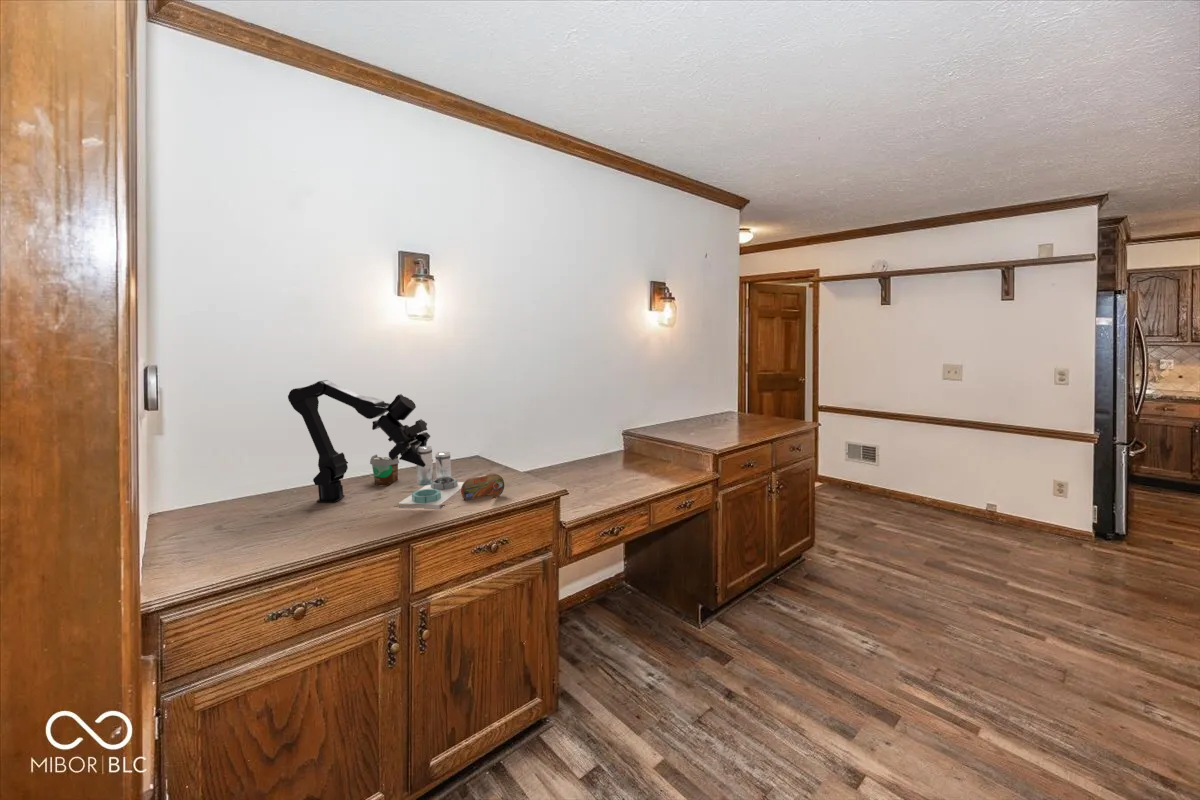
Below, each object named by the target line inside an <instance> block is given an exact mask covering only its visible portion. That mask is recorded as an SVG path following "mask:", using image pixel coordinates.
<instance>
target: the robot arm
mask: <svg viewBox="0 0 1200 800" xmlns="http://www.w3.org/2000/svg"><path fill="white" fill-rule="evenodd" d="M323 395H325V396H326V397H330V398H332V399H333V400H336V401H338V402H341V403H343V404H345V405H347V406H349V407H352V408H353V409H355V411H356V412H357V413H358V415H360V416H363V418H366V419H368V420H370V419H376V418H378V419H377V420H373V421H372V422H371V423H372V428H371V429H372V430H373V431H375V430H377V429H381V431H382V432H384V434H385V435H386V436H388V439H387V440H388V442H393V443H394V444H395V445H394V446H393V447H391V448H392V449H390V451H389V452H388V458H390V459H392V460H393V461H394V460H396V459H397V458H398V459H399V461H405V462H408V463H411V464H413V465H416V466H417V465H419V466H421V467H424V466H425V465H426V464H425V463H424V461H423V460H422V459H421V458H420V456H419V455H418V454H417V453H416V447H420V446H428V445H427V443H428V440H429V439H430V438H431V435H430V434H429V433H428V432H426V431H427V430H428V428H427V425H428V422H426V421H425V420H423V419H422V418H420V419H418V420H416V421H415V423H414V424H413V425H411V426H409V425H408V424H404V425H403V424H402V423H401V421H405V420H406V419H407V418H408V416H410V415H411V413H413V411H414V410H415V409H416V408H417V406H416V404H415V401H413V400H412V399H410V398H409V397H406V396H403V394H402V393H400V394H397V395H396V396H395V398H394V399H393V401H392V402H391V403H389V402H385V401H384V400H383V399H380V398H376V397H372V396H365V395H361V394H359V393H357V392H354V391H352V390H349V389H347V388H346V387H343V386H341V385H338V384H336V383H334V382H333V381H331V380H328V379H325V380H319V381H317V382H315V383H312V384H309V385H307V386H303V387H297V388H293V389H291V390H290V391H289V393H288V395H287V400H288V403H290V405H291V407H292V408H293V410H294V411H295V412H297V413H298V414H299V415H301V417H302V419H303V421H304V424H305V426H306V428H307V430H308V433H309V435H310V438H311V440H312V442H313V446H314V447H315V449H316V452H317V454H318V462H317V463H318V464H317V467H318V469H319V472H318V473H317V475H315V476H314V477H313V479H312V480H313V484H314V485H315V486H317V488H318V491H317V492H318V499H317V500H316V503H336V501H337V502H338V501H340V500H341V499H343V498H344V497H345V495H344V489H343V484H342V482H341V480H342V479H343V480H344V477H345V474H346V473H347V470H348V464H349V462H348V461H347V459H346V456H345V453H344V452H340V453H339V452H338V451H336V450H335V447H334V446H333V443H332V441H331V439H330V436H329V434H328V432H327V430H326V427H325V426H326V425H325V424H324V422H323V420H322V417H321V416H320V413H319V401H320V400H319V397H321V396H323ZM385 413H386V414H385ZM399 455H400V457H399ZM433 461H434V460H433V458H432V462H433ZM342 497H343V498H342ZM339 499H340V500H339Z"/></svg>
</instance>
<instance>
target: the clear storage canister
mask: <svg viewBox="0 0 1200 800" xmlns="http://www.w3.org/2000/svg"><path fill="white" fill-rule="evenodd" d="M416 453H417V454H418V455H419V456H420V458H421V459H422V460H423V461H424V463H425V464H426V465H425V466H424V467H421V466H419V465H416V481H417V483H416V484H417V485H418V486H423V487H424V486H426V485H431V484H433V480H434V470H433V469H434V467H433V466H434V465H433V462H432V459H433V447H432V446H430V445H426V446H420V447H416Z"/></svg>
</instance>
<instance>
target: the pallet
mask: <svg viewBox="0 0 1200 800" xmlns="http://www.w3.org/2000/svg"><path fill="white" fill-rule="evenodd" d="M464 482H465V481H458V478H455V477H452V476H451V482H450V483H444V484H442V483H437V478H435V479H434V478H433V484H431V485H425V486H423V487H421V488H419V489H418V490H415V491H414V492H412V493H411V495H409V496H407V497H406V498H404V499H403V500H401V501H400V502H398V506H397V507H398V508H399V509H415V508H424V509H423V510H441V509H442V508H444V507H446V504H443V503H445V502H446V501H447V500H448V499H450V498H451V497H452V496H454V495H455V494H456V493H457V492H459V491H461V488H462V485H463V483H464ZM443 506H444V507H443Z"/></svg>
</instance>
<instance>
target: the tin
mask: <svg viewBox="0 0 1200 800" xmlns="http://www.w3.org/2000/svg"><path fill="white" fill-rule="evenodd" d="M463 482H464V483H463V485H462V488H461V489H460V491H461V497H462V499H464V500H465V501H467V502H468V501H470V500H475V499H478V498H483V497H486V496H491V495H493V497H492V498H495V499H497V498H499V497H500V496H501V495H502V494H503V492H504V489H505V481H504V478H503V477H502V476H501V475H499V474H497V473H489V474H488V473H487V474H484V475H478V476H473V477H470V478H467V479H466V480H465V481H463ZM496 497H497V498H496Z"/></svg>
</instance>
